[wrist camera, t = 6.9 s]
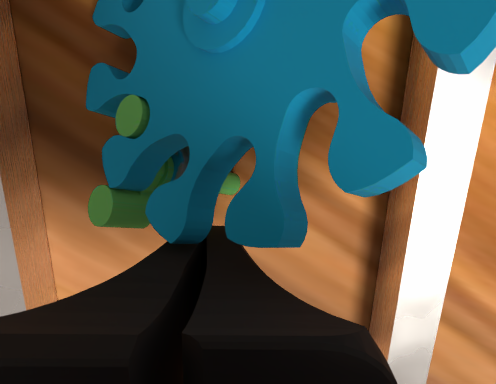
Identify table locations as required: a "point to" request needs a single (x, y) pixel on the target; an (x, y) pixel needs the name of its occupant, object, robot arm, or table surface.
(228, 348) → the robot arm
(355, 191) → the gear
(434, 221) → the rail dock
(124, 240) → the table surface
